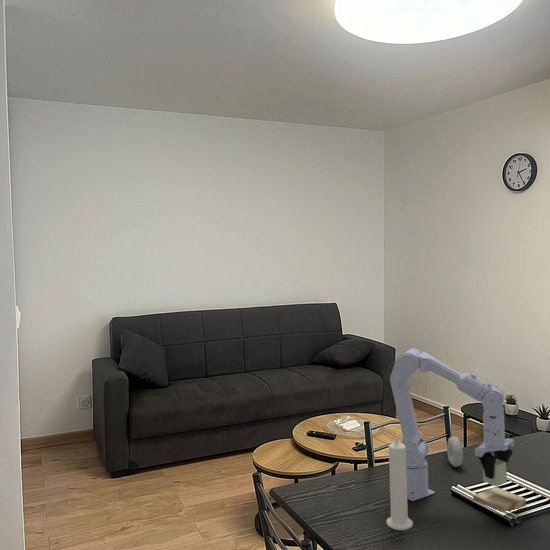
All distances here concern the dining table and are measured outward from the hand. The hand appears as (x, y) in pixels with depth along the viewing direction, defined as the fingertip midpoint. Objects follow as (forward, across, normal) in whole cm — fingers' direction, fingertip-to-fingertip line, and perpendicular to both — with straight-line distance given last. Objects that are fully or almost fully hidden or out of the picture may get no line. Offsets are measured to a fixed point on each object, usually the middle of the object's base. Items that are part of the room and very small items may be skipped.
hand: (495, 475), depth 165 cm
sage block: (+2, 0, 0) cm, 2 cm away
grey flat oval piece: (+9, +13, +27) cm, 31 cm away
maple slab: (+9, 0, -1) cm, 9 cm away
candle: (+9, -31, +7) cm, 33 cm away
